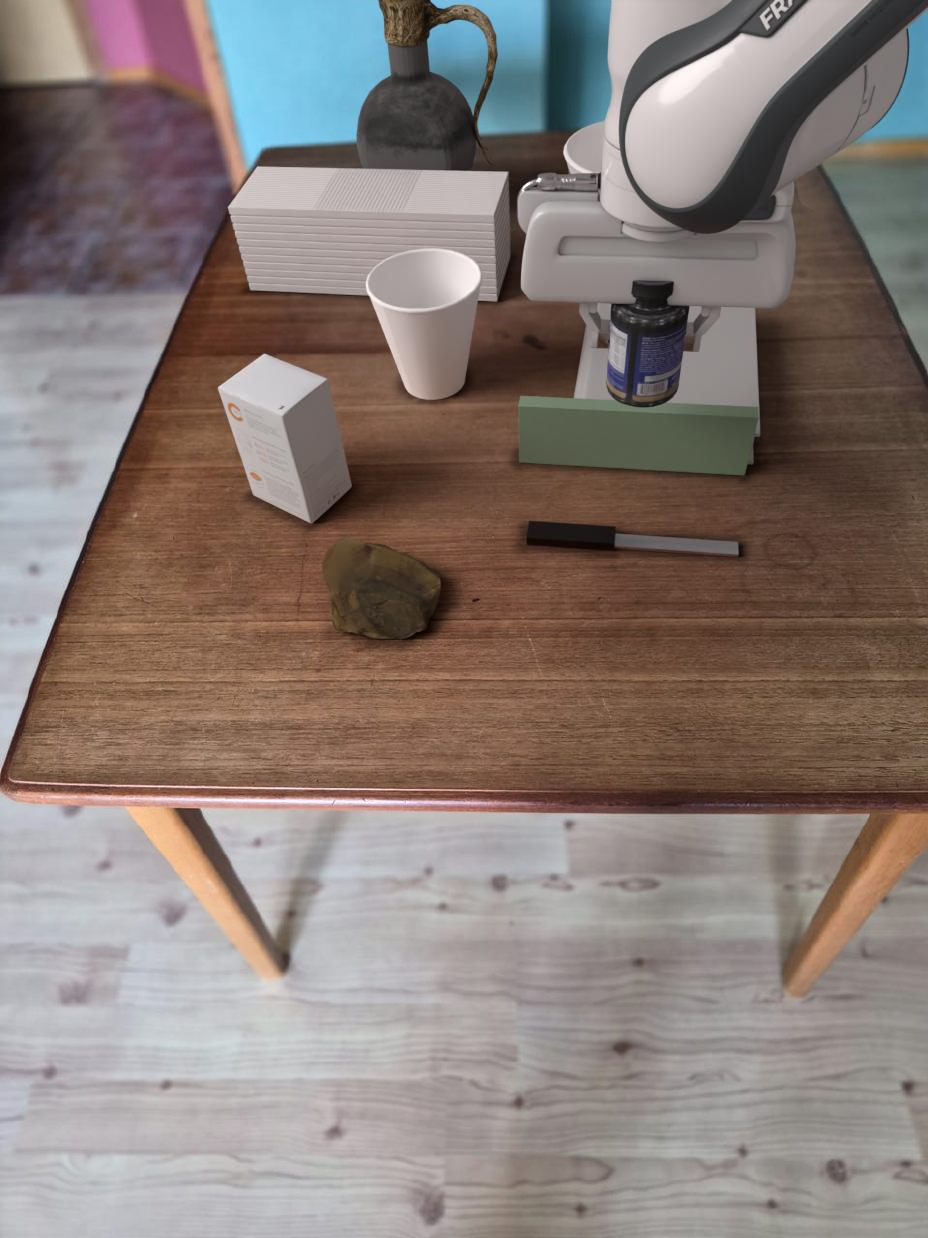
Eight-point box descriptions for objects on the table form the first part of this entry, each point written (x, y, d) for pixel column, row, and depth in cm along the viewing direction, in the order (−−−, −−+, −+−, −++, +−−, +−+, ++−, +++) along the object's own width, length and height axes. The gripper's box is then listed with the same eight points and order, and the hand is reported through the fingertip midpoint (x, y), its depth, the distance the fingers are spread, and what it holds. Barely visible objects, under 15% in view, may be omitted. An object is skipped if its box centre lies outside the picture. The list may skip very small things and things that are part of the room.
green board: (744, 464, 87) (758, 406, 81) (744, 475, 86) (758, 417, 80) (521, 452, 90) (520, 395, 85) (519, 462, 89) (518, 405, 84)
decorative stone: (451, 568, 81) (448, 541, 78) (426, 648, 75) (422, 622, 72) (342, 554, 83) (335, 527, 80) (309, 631, 77) (301, 605, 74)
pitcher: (382, 187, 129) (349, -66, 106) (510, 195, 125) (504, -66, 102) (358, 224, 122) (317, -37, 99) (492, 233, 118) (482, -36, 95)
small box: (353, 487, 88) (330, 377, 78) (311, 526, 85) (281, 416, 75) (293, 459, 92) (263, 350, 81) (251, 495, 88) (214, 387, 78)
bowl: (711, 240, 114) (722, 175, 108) (565, 248, 115) (567, 183, 109) (690, 173, 126) (698, 111, 119) (558, 181, 127) (559, 120, 120)
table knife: (737, 542, 80) (739, 534, 80) (738, 559, 79) (740, 552, 78) (529, 527, 83) (529, 520, 82) (526, 544, 82) (526, 537, 81)
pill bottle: (686, 375, 77) (705, 254, 68) (665, 417, 73) (683, 295, 65) (618, 361, 78) (628, 242, 70) (594, 401, 75) (602, 281, 67)
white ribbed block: (510, 256, 114) (508, 171, 106) (497, 301, 108) (493, 214, 100) (276, 247, 120) (257, 165, 111) (250, 290, 113) (227, 206, 105)
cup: (509, 375, 98) (507, 271, 89) (435, 428, 93) (424, 324, 84) (433, 337, 104) (423, 235, 94) (359, 386, 99) (340, 283, 89)
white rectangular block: (754, 295, 98) (760, 433, 84) (748, 326, 101) (752, 464, 87) (590, 289, 101) (567, 421, 87) (588, 319, 104) (566, 451, 90)
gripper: (511, 193, 62) (514, 363, 72) (818, 197, 59) (774, 374, 69) (521, 153, 65) (523, 320, 76) (810, 155, 62) (769, 328, 73)
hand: (645, 346), depth 73 cm, fingers closed on pill bottle, 6 cm apart
